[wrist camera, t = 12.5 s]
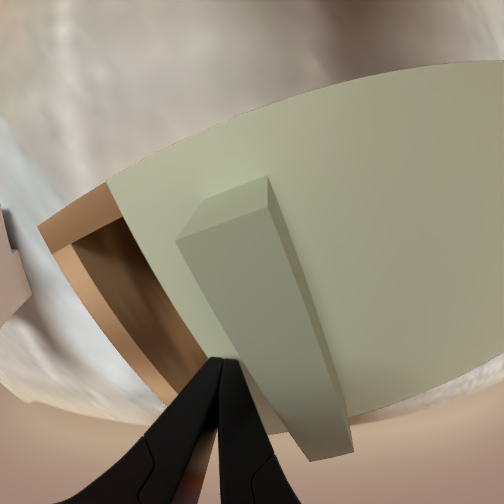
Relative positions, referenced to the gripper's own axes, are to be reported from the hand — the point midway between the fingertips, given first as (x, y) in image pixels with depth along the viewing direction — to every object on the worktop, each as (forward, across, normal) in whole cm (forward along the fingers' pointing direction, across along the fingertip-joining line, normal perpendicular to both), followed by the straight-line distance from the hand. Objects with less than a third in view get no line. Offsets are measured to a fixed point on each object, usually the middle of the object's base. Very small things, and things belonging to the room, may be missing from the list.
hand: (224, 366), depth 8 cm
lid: (+2, -10, -5) cm, 12 cm away
